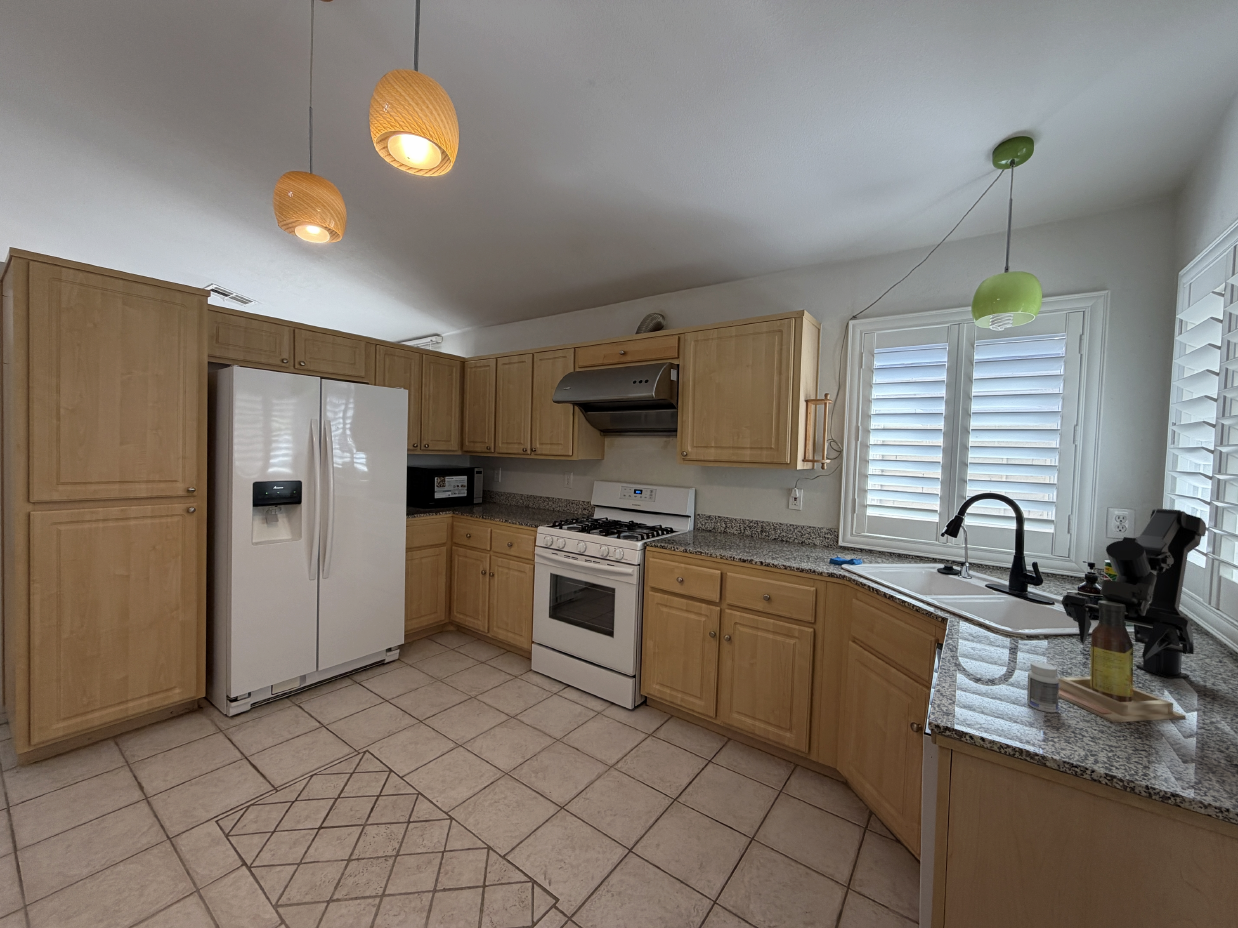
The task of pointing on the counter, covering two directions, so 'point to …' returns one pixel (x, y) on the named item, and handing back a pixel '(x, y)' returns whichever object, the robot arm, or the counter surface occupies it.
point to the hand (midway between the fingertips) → (1111, 649)
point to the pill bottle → (1043, 687)
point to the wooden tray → (1115, 702)
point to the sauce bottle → (1112, 654)
